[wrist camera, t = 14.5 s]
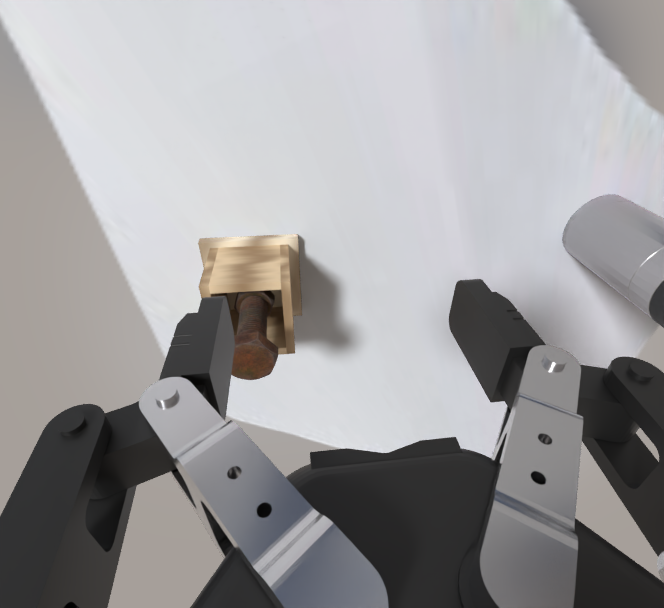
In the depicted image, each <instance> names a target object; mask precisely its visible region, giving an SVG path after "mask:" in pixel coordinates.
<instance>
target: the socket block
mask: <svg viewBox="0 0 664 608" xmlns="http://www.w3.org/2000/svg"><path fill="white" fill-rule="evenodd" d="M198 244H199V248H200V253H201V258H202V262H203V267H204V270H203V274H202V277H201V280H200V284H199V290H200V294H201V298H204V297H218V296H226V298H227V302H228V306H229V311H230V316H231V321H232V326H233V331H234V336H236V335H237V331H238V323H239V313H238V312H237V311H236V310H235V308H234V305H235V300H236V297H237V294H238V292H247V291H264V290H270V291H271V292H272V293H273V294H274V295H275V301H274V305H273V308H272V311H271V313H270V315H269V316H268V317H267V339H268V340H270V341H271V342H272V343H273V344H275V345H276V346H277V347H278V354H292V353H295V343H294V325H293V316H298V315H302V307H301V288H300V268H299V249H298V234H291V235H269V236H247V237H225V238H204V239H200V240H199V243H198Z"/></svg>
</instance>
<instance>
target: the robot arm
mask: <svg viewBox="0 0 664 608" xmlns="http://www.w3.org/2000/svg"><path fill="white" fill-rule="evenodd" d="M562 240H563V245H564V248H565V249H566V251H567V252H569V253H570V254H571V255H572V256H574V257H575V258H576V259H577V260H578V261H580V262H581V263H582V264H583V265H585V266H586V267H587V268H588V269H590V270H591V271H592V272H593V273H595V274H596V275H597V276H599V277H600V278H601V279H602V280H604V281H605V282H606V283H607V284H609V285H610V286H611V287H612V288H614V289H615V290H616V291H617V292H619V293H620V294H621V295H623V296H624V297H625V298H626V299H628V300H629V301H630V302H631V303H633V304H634V305H635V306H637V307H638V308H639V309H640V310H642V311H643V312H644V313H645V314H647V315H648V316H649V317H651V318H652V319H653V320H654V321H656V322H657V323H658V324H660V325H661V326H662V327H664V218H662V217H660V216H658V215H656V214H654V213H653V212H651V211H649V210H647V209H645V208H643V207H641V206H639V205H637V204H635V203H633V202H631V201H629V200H627V199H625V198H623V197H621V196H619V195H603V196H600V197H597V198H595V199H592V200H591V201H589V202H587V203H586V204H584V205H583V206H582V207H581V208H579V209H578V210H577V211H576V212H575V213H574V214H573V215H572V217H571V218H570V219H569V221H568V223H567V224H566V227H565V229H564V232H563V238H562ZM449 325H450V330H451V332H452V334H453V336H454V338H455V339H456V341H457V343H458V345H459V347H460V348H461V350H462V352H463V354H464V356H465V357H466V359H467V361H468V363H469V364H470V366H471V368H472V370H473V372H474V373H475V375H476V377H477V379H478V381H479V382H480V384H481V386H482V388H483V389H484V391H485V393H486V395H487V397H488V398H489V400H490V402H499V401H505V402H506V404H507V408H506V411H505V414H504V417H503V421H502V424H501V428H500V431H499V435H498V438H497V442H496V445H495V448H494V452H493V455H492V458H489V457H487V456H485V455H482V454H480V453H477V452H474V451H470V450H466V449H461V448H460V446H459V443H458V441H457V439H456V437H451V438H441V439H432V440H422V441H419V442H416V443H413V444H411V445H408V446H405V447H403V448H400V449H397V450H395V451H392V452H389V453H378V452H370V451H362V450H355V449H337V450H328V451H318V452H311V453H310V459H311V464H309V465H307V466H304V467H302V468H300V469H298V470H296V471H294V472H293V473H291V474H290V475H288V476H287V477H285V476H284V475H283V474H282V473H281V472H280V471H279V470H278V469H277V467H275V465H274V464H273V463H272V462H271V461H270V460H269V459H268V457H267V456H266V455H265V454H264V453H263V452H262V451H261V450H260V449H259V448H258V446H257V445H256V444H255V443H254V442H253V441H252V440H251V439H250V438H249V437H248V435H247V434H246V433H245V432H244V431H243V430H242V429H241V428H240V427H239V425H238V424H236V423H235V422H234V421H229V422H228V423H227V422H226V421H225V417H226V409H227V402H228V394H229V386H230V379H231V371H232V364H233V356H234V347H235V340H234V331H233V326H232V321H231V316H230V311H229V306H228V302H227V298H226V296H218V297H204V298H202V300H201V303H200V307H199V311H198V313H188V314H186V315H185V317H184V318H183V319H182V320H181V321H180V322H179V323H178V324H177V327H176V330H175V333H174V337H173V339H172V342H171V347H170V348H169V351H168V354H167V357H166V360H165V363H164V367H163V369H162V372H161V376H160V379H159V381H157V382H155V383H154V384H152V385H151V386H149V387H148V388H147V389H146V390H145V391H144V392H143V394H142V395H141V397H140V400H139V401H138V402H136V403H134V404H132V405H129V406H126V407H123V408H121V409H117V410H114V411H111V412H108V413H104V411H103V410H102V409H101V408H100V407H98V406H97V405H93V404H83V405H78V406H74V407H72V408H69V409H67V410H65V411H63V412H61V413H60V414H58V415H57V416H56V417H54V418H53V419H52V420H51V421H50V422H49V423H48V424H47V426H46V427H45V429H44V430H43V432H42V434H41V436H40V438H39V440H38V442H37V444H36V446H35V448H34V450H33V452H32V454H31V456H30V458H29V460H28V462H27V464H26V466H25V468H24V470H23V472H22V474H21V476H20V478H19V480H18V482H17V484H16V486H15V488H14V490H13V492H12V494H11V497H10V498H9V500H8V502H7V504H6V506H5V508H4V510H3V512H2V514H1V516H0V608H107V607H108V603H109V599H110V594H111V590H112V586H113V582H114V578H115V573H116V569H117V565H118V561H119V557H120V552H121V548H122V544H123V540H124V536H125V531H126V527H127V523H128V519H129V514H130V511H131V507H132V502H133V498H134V494H135V490H136V486H137V485H138V484H140V483H143V482H145V481H148V480H150V479H153V478H155V477H158V476H160V475H163V474H165V473H167V472H170V474H171V475H172V476H173V478H174V480H175V481H176V483H177V484H178V486H179V487H180V489H181V490H182V492H183V493H184V495H185V496H186V498H187V499H188V501H189V502H190V504H191V506H192V507H193V509H194V510H195V512H196V513H197V515H198V516H199V518H200V520H201V521H202V523H203V525H204V527H205V529H206V530H207V532H208V534H209V535H210V537H211V539H212V541H213V542H214V544H215V545H216V547H217V549H218V550H219V552H220V553H221V555H222V556H223V558H224V560H223V562H222V563H221V564H220V566H219V567H218V569H217V570H216V572H215V573H214V575H213V576H212V577H211V579H210V580H209V582H208V583H207V584H206V586H205V587H204V589H203V590H202V592H201V593H200V594H199V596H198V597H197V599H196V600H195V602H194V603H193V605H192V606H191V607H190V608H664V373H663V372H661V371H660V370H659V369H658V368H656V367H655V366H653V365H652V364H650V363H648V362H645V361H643V360H640V359H637V358H632V357H618V358H615V359H614V360H613V361H612V362H611V364H610V365H609V367H608V369H605V368H598V367H591V366H585V365H580V364H579V362H578V361H577V359H576V358H575V357H574V356H572V355H571V354H570V353H568V352H566V351H565V350H562V349H560V348H557V347H554V346H548V345H546V344H545V343H544V342H543V341H542V339H541V338H540V337H539V336H538V335H537V333H536V332H535V331H534V330H533V329H532V327H531V326H530V325H529V324H528V323H527V321H526V320H524V319H523V317H522V315H521V314H520V313H519V312H517V309H516V308H515V307H514V306H513V304H512V303H511V302H510V301H509V300H508V299H506V298H505V297H503V296H502V295H500V294H499V293H497V292H491V290H490V289H489V288H488V287H487V285H486V284H485V283H484V282H483V280H481V279H474V280H460V281H458V282H457V284H456V287H455V291H454V296H453V301H452V305H451V310H450V314H449ZM639 428H641V429H642V430H643V431H644V433H645V434H646V435H647V436H648V437H649V439H650V440H651V441H652V442H653V443H654V445H655V446H656V448H657V450H658V453H659V462H658V461H657V459H656V458H655V457H654V456H653V455H652V453H651V452H650V451H649V450H648V448H647V447H646V446H645V444H644V443H643V442H642V441H641V439H640V438H639V437H638V436H637V434H636V432H637V430H638V429H639ZM582 441H583V443H584V444H585V446H586V447H587V449H588V450H589V452H590V454H591V455H592V456H593V458H594V460H595V461H596V463H597V464H598V466H599V467H600V469H601V470H602V472H603V473H604V475H605V476H606V478H607V479H608V481H609V482H610V484H611V486H612V487H613V489H614V490H615V492H616V493H617V495H618V496H619V498H620V499H621V501H622V502H623V504H624V505H625V507H626V508H627V510H628V511H629V513H630V514H631V516H632V517H633V519H634V520H635V522H636V524H637V525H638V526H639V528H640V530H641V531H642V533H643V534H644V535H645V537H646V539H647V540H648V542H649V543H650V545H651V546H652V548H653V550H654V551H655V553H656V554H657V556H658V561H657V567H658V571H659V574H660V577H661V579H662V581H663V582H662V581H661V580H659V579H658V578H657V577H655V576H654V575H653V574H651V573H649V572H648V571H647V570H646V569H644V568H643V567H642V566H640V565H639V564H637V563H636V562H635V561H633V560H632V559H630V558H629V557H628V556H626V555H625V554H624V553H622V552H621V551H619V550H618V549H617V548H615V547H614V546H612V545H611V544H610V543H608V542H607V541H606V540H604V539H603V538H602V537H600V536H599V535H598V534H596V533H595V532H593V531H592V530H591V529H589V528H588V527H586V526H585V525H584V524H582V523H581V522H579V521H578V520H577V519H575V512H576V500H577V490H578V478H579V466H580V455H581V443H582Z"/></svg>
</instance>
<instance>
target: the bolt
mask: <svg viewBox="0 0 664 608" xmlns="http://www.w3.org/2000/svg"><path fill="white" fill-rule="evenodd" d="M274 301H275V295H274V294H273V293H272V292H271V291H270V290H264V291H247V292H238V294H237V297H236V300H235V305H234V308H235V310H236V311H237V312H238V313H239V323H238V331H237V335H236V336H234V340H235V347H234V356H233V364H232V371H231V375H233V376H235V377H237V378H240V379H246V380H255V379H260V378H262V377H265V376H267V375H269V374H270V373H271V372H272V370H273V368H274V366H275V363H276V361H277V357H278V347H277V346H276V345H275V344H273V343H272V342H271V341H270V340H268V339H267V317H268V316H269V315H270V313H271V311H272V308H273V305H274Z"/></svg>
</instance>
